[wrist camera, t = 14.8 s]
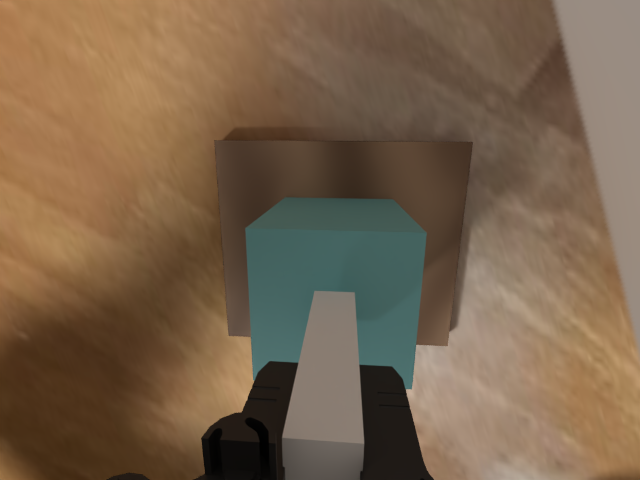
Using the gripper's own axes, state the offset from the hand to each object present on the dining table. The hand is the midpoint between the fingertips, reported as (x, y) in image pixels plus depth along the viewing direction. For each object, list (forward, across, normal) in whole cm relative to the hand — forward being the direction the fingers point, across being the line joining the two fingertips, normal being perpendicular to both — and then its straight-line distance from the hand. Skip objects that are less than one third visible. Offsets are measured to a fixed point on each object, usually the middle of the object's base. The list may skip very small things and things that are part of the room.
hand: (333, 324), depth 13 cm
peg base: (+11, 0, 0) cm, 11 cm away
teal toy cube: (+10, 0, 0) cm, 10 cm away
